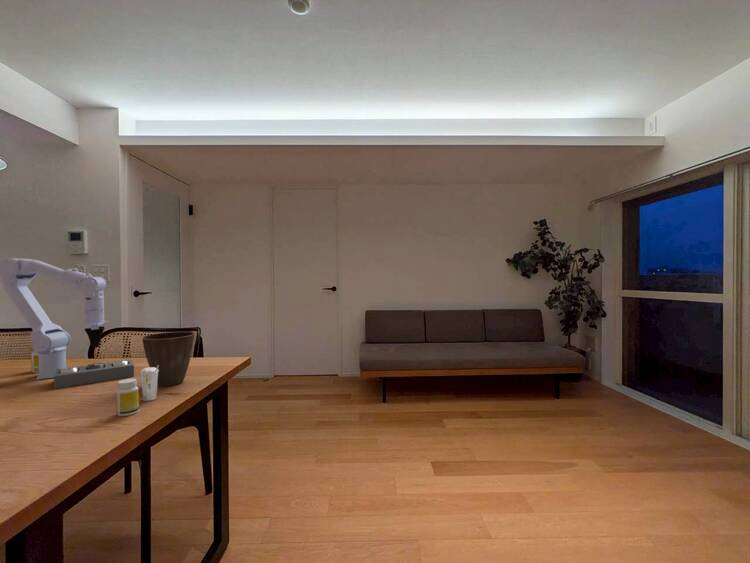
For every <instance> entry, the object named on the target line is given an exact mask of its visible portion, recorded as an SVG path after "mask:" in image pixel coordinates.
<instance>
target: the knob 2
mask: <svg viewBox="0 0 750 563" xmlns="http://www.w3.org/2000/svg"><path fill="white" fill-rule="evenodd" d="M128 360H129V359H120V360H115V361H112V362H113V366H119V365H126V364H128Z"/></svg>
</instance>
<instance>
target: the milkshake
mask: <svg viewBox="0 0 750 563" xmlns="http://www.w3.org/2000/svg"><path fill="white" fill-rule="evenodd" d="M158 367H159V365H158V366H157V368H155V367H145V368H142V369H141V370H140V372H139V377H140V383H141V394H142V401H143V402H151V401H153V400H156V399H157V398H158V395H157V394H158V385H157V382H158V371H159V370H158Z"/></svg>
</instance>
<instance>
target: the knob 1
mask: <svg viewBox="0 0 750 563" xmlns="http://www.w3.org/2000/svg"><path fill="white" fill-rule="evenodd" d="M76 371H78V366H66V368H62V369H60V373H68V372H76Z"/></svg>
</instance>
